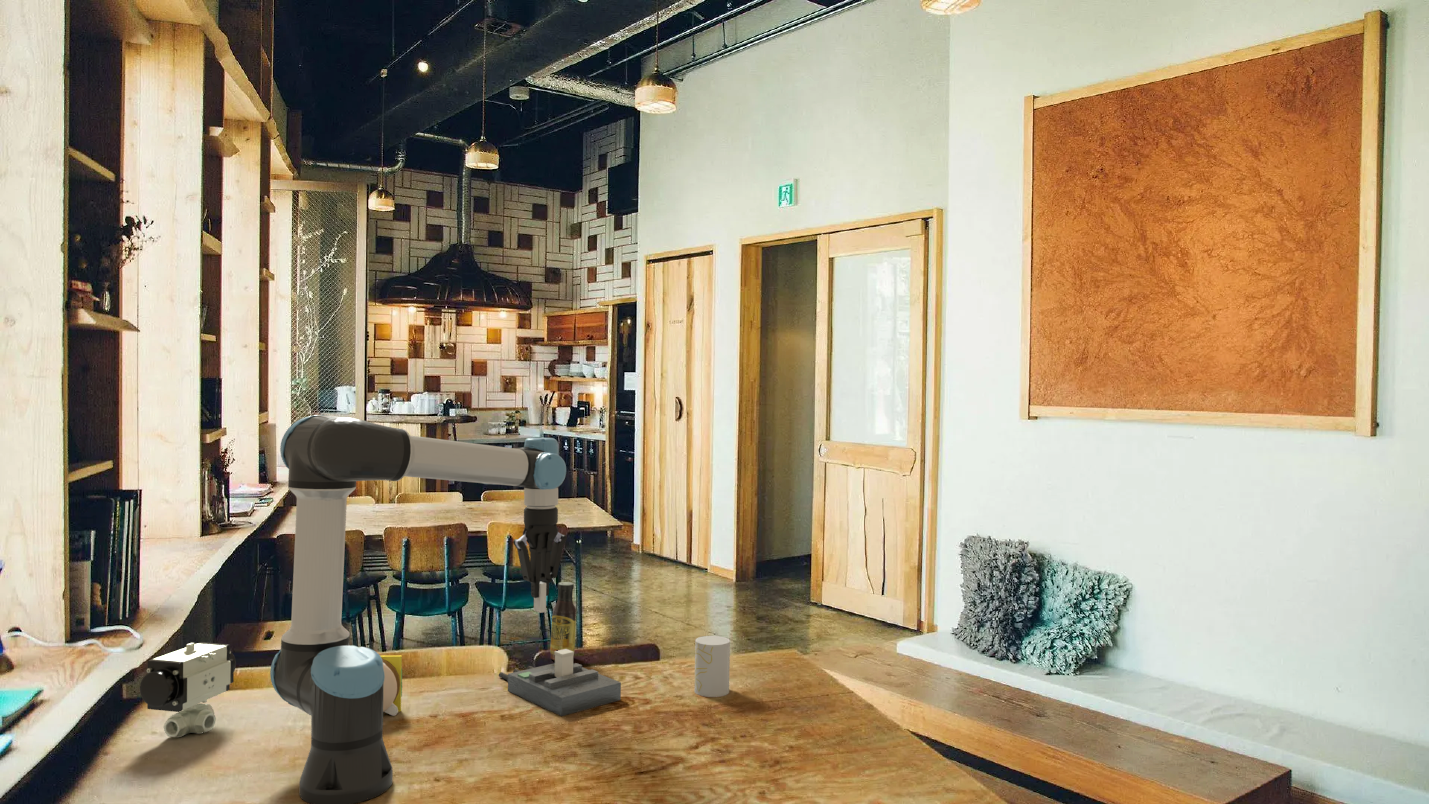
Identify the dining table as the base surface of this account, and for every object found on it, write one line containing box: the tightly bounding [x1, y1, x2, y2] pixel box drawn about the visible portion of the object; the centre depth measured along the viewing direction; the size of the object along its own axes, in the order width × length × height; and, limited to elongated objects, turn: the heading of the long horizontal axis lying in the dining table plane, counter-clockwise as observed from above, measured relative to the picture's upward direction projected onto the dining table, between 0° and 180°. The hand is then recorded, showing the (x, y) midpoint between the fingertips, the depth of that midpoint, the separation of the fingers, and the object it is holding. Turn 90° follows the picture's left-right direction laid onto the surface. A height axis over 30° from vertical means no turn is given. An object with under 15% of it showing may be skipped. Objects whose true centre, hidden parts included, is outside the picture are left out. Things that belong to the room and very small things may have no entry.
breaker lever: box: [554, 649, 575, 678], centre depth 210 cm, size 3×3×6 cm
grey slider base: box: [498, 662, 622, 717], centre depth 213 cm, size 32×16×5 cm, turn 43°
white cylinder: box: [694, 635, 731, 698], centre depth 215 cm, size 8×8×12 cm
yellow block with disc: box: [380, 654, 403, 717], centre depth 196 cm, size 12×8×12 cm
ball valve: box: [139, 641, 237, 738], centre depth 184 cm, size 18×8×18 cm, turn 168°
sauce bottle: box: [549, 581, 577, 661], centre depth 238 cm, size 6×6×20 cm
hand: (539, 611), depth 205 cm, fingers closed
